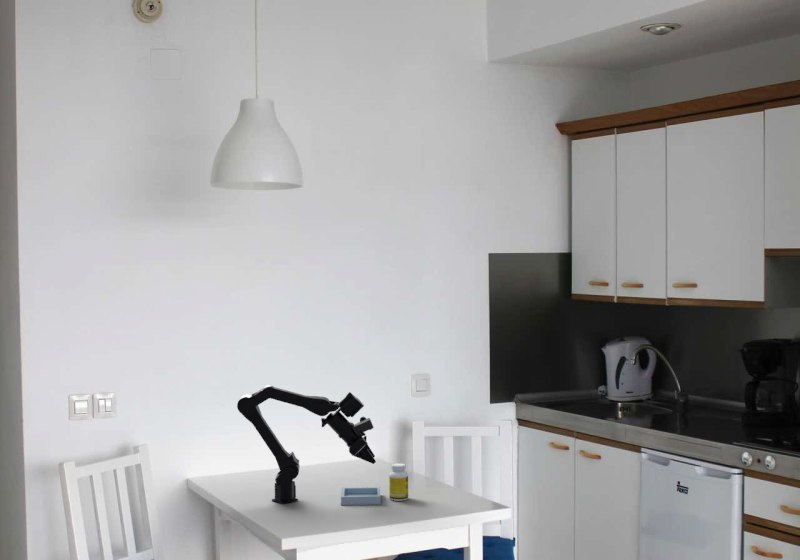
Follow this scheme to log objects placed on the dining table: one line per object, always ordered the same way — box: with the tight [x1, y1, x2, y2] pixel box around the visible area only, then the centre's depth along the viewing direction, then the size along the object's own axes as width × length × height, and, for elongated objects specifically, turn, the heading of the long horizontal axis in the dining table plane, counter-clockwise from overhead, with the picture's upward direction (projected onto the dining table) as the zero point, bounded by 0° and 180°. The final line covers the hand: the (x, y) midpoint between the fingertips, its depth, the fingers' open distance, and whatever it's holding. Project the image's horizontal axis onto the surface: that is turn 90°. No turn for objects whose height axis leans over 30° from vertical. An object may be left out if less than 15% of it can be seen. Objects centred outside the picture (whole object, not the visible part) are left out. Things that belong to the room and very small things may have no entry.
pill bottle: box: [388, 462, 409, 502], centre depth 308 cm, size 6×6×12 cm
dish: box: [340, 486, 381, 506], centre depth 308 cm, size 13×13×3 cm
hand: (374, 460), depth 309 cm, fingers open, 9 cm apart
